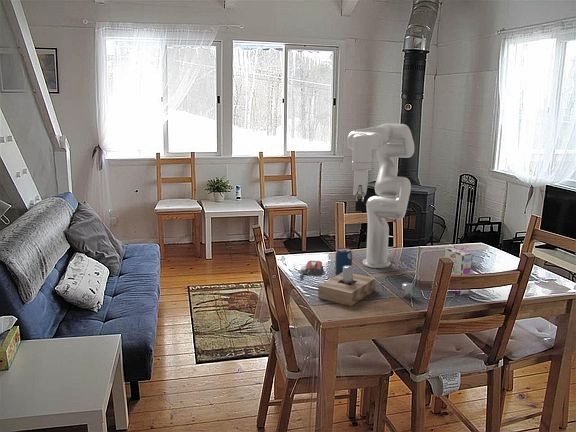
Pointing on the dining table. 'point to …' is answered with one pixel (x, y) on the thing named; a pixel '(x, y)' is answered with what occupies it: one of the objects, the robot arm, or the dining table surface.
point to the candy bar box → (460, 263)
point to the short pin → (407, 290)
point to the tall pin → (347, 275)
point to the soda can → (342, 259)
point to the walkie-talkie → (311, 268)
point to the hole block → (346, 289)
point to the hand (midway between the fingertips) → (360, 208)
